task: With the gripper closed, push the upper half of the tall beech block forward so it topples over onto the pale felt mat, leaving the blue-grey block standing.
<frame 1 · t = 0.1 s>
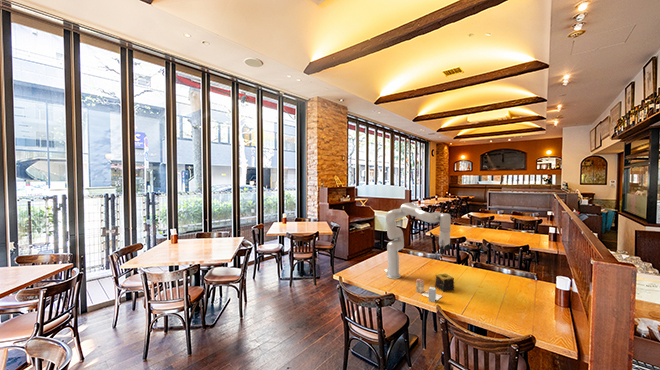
hand: (444, 252, 196), 31 cm above the table, fingers open, 9 cm apart
candle: (444, 288, 204), on the table
mat: (431, 295, 192), on the table
bluegrey block: (432, 300, 185), on the table
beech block: (419, 291, 199), on the table
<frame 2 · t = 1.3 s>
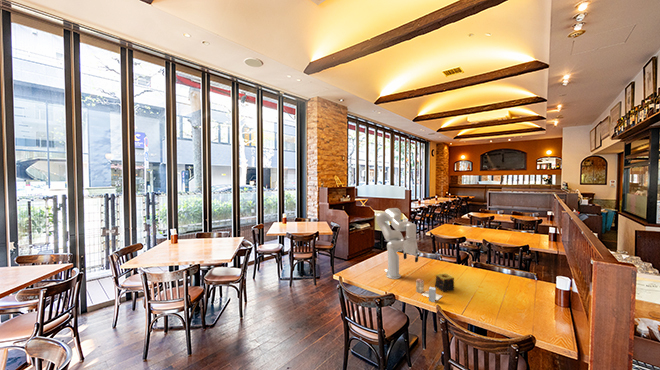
hand: (410, 260, 204), 22 cm above the table, fingers open, 9 cm apart
nothing on the table moved.
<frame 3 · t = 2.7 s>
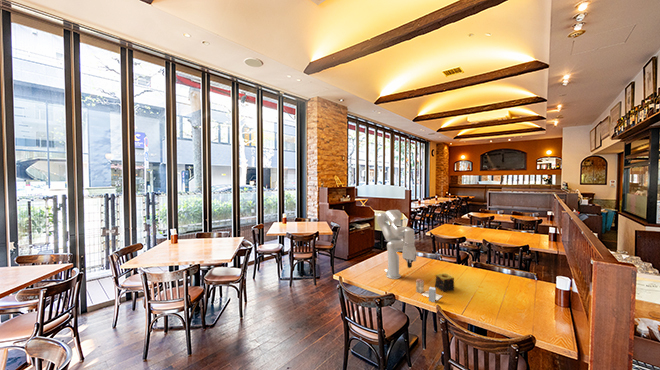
hand: (409, 267, 204), 17 cm above the table, fingers closed
nothing on the table moved.
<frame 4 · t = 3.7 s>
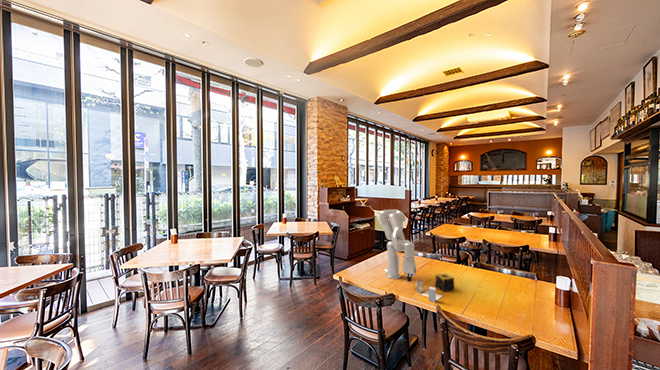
hand: (409, 281, 205), 6 cm above the table, fingers closed
nothing on the table moved.
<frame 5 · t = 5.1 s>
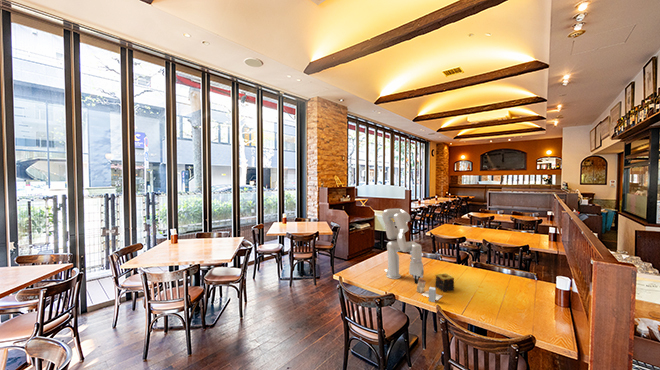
hand: (416, 283, 201), 6 cm above the table, fingers closed
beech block: (419, 291, 199), on the table, tilted 12°
everything else where it was.
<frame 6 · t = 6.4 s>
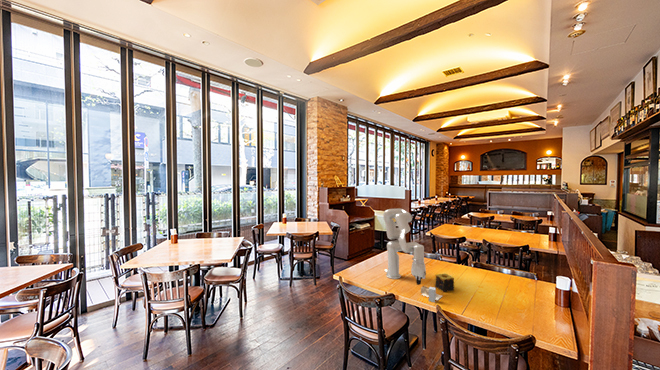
hand: (418, 284, 200), 6 cm above the table, fingers closed
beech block: (422, 289, 198), point 2 cm above the table, tilted 90°, touching mat
everything else where it was.
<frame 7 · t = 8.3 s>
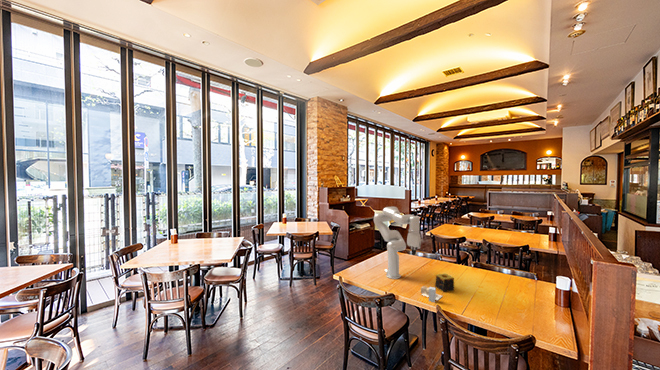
hand: (413, 254, 207), 26 cm above the table, fingers closed
nothing on the table moved.
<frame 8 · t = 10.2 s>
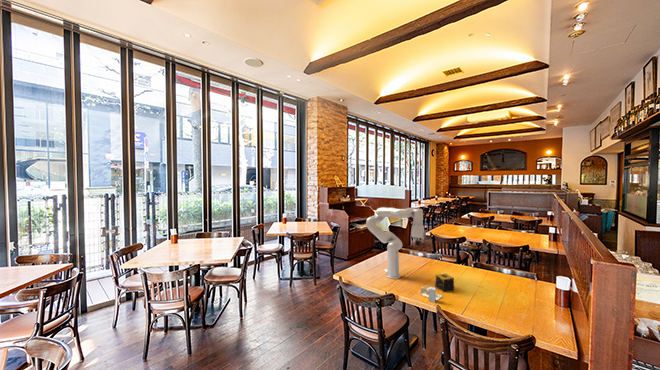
hand: (417, 245, 216), 31 cm above the table, fingers closed
nothing on the table moved.
at the end: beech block tilted 90°; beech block 7.6 cm from the mat (horizontally); bluegrey block tilted 0° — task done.
